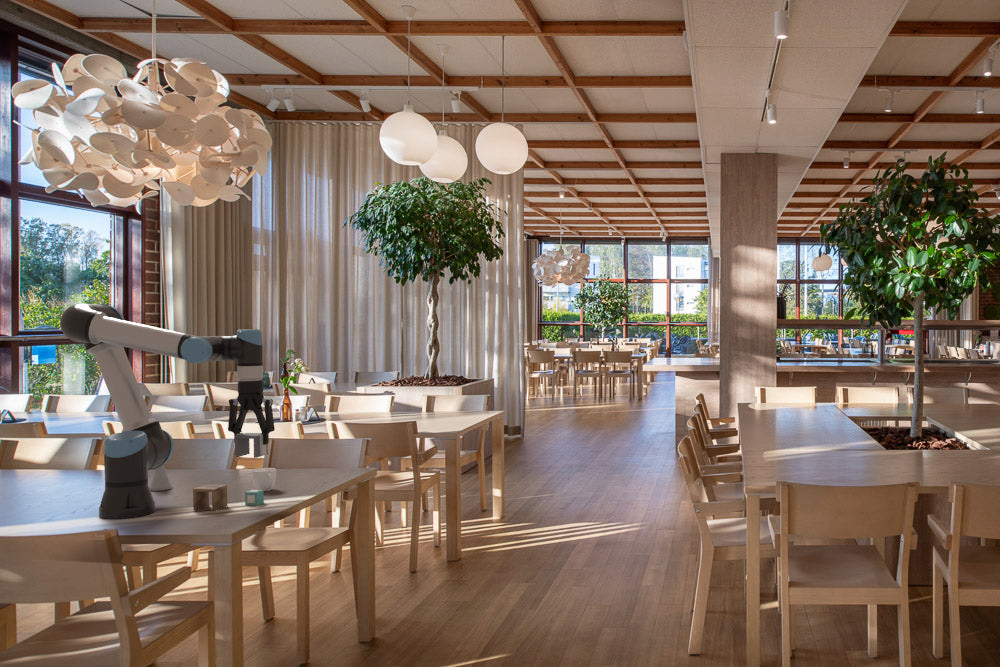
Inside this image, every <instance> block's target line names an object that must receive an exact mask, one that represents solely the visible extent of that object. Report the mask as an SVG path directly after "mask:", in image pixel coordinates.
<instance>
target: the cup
mask: <svg viewBox="0 0 1000 667" xmlns="http://www.w3.org/2000/svg"><path fill="white" fill-rule="evenodd" d="M251 478H252V479H251V480H252V482H253V486H254V487H255V489H256V490H264V492H268V491H271V490H272V489H273V487H274V485H275V484H276V479H277V468H275V467H259V468H254V469H252V470H251Z"/></svg>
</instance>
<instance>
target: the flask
mask: <svg viewBox="0 0 1000 667" xmlns="http://www.w3.org/2000/svg"><path fill="white" fill-rule="evenodd" d="M165 464H166V463H165ZM165 464H163V465H162V466H161V467H158V468H156V469H154V474H153V476H152V478H151V479H152V480H151V483H150V485H149V489H150V491H153V492H159V491H160V492H162V491H167V490H172V489H173V485H172V483H171V480H170V479H169V475H168V473H167V470H166V466H165Z"/></svg>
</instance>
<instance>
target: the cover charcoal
mask: <svg viewBox="0 0 1000 667" xmlns="http://www.w3.org/2000/svg"><path fill="white" fill-rule="evenodd" d="M261 433H262V432H245V433H244V432H243V434H240V435H236V436H235V443H234V456H235V458H240V457H243V456H247V455H249V454H251V453H250V451H251V450H250V440H253V458H254V459H256V458H261V457H262V456H260V435H259V434H261ZM268 445H269V443H268V444H266V453H267V455H268V453H269V452H268V450H269V449H268V448H269V447H268Z"/></svg>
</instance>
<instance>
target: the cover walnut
mask: <svg viewBox="0 0 1000 667" xmlns="http://www.w3.org/2000/svg"><path fill="white" fill-rule="evenodd" d="M210 493H211V505H212V506H211V509H212V512H217V511H219V510H218V509H220V510H221V508H222V509H224V507H225V508H226V506H227V507H228V484H209V483H208V484H203V485H200V486H197V487H194V488H193V489H192V498H193V500H192V502H193V511H194V510H197V511H199V510H201V508H202V509H204V507H205V508H207V507H209V506H210ZM206 506H207V507H206ZM198 509H199V510H198ZM216 510H217V511H216Z"/></svg>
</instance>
